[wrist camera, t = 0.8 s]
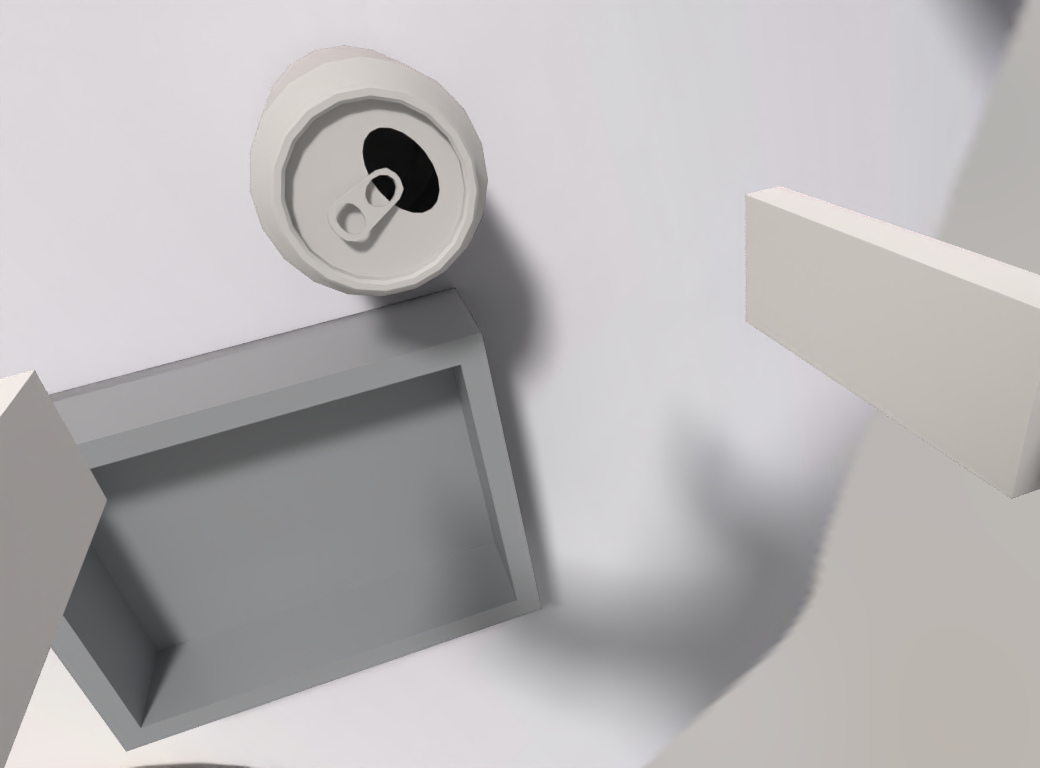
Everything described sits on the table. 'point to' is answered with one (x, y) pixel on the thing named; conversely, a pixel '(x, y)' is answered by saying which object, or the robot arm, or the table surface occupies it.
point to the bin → (290, 516)
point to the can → (366, 172)
